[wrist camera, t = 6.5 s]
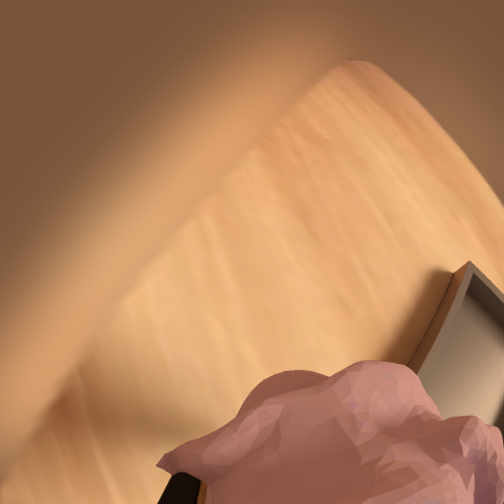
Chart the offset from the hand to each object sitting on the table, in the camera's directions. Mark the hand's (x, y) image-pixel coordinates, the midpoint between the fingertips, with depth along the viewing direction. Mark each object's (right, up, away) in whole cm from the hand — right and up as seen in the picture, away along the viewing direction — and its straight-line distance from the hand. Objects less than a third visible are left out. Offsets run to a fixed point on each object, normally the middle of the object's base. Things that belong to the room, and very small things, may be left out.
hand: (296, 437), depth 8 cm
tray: (+18, -5, +11) cm, 21 cm away
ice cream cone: (0, -5, +6) cm, 7 cm away
